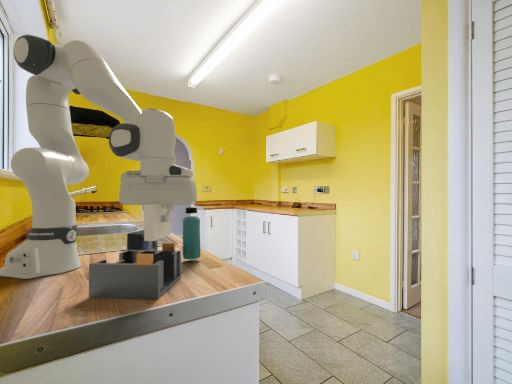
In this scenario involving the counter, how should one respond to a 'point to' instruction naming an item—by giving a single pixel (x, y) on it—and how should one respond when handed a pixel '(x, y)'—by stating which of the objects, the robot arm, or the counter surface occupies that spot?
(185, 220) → the beverage bottle
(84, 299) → the counter surface
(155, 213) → the panel
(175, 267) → the rack
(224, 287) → the counter surface
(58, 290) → the counter surface
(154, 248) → the small box
